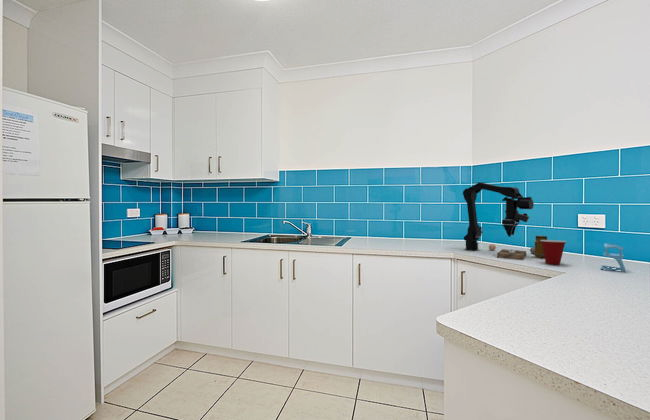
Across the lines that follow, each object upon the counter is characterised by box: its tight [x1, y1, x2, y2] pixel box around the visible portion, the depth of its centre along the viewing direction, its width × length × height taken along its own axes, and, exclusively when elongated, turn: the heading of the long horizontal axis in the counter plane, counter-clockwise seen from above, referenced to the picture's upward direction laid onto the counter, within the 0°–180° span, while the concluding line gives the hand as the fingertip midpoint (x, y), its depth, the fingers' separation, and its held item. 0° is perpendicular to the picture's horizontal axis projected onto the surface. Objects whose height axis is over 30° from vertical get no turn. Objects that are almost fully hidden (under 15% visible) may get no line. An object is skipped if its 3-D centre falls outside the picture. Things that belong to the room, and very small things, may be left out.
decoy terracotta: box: [488, 243, 497, 251], centre depth 193 cm, size 4×4×4 cm
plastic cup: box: [540, 239, 567, 266], centre depth 153 cm, size 11×11×12 cm
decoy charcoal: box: [529, 246, 535, 255], centre depth 179 cm, size 4×4×4 cm
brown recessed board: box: [496, 248, 527, 261], centre depth 173 cm, size 12×16×2 cm
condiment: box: [532, 235, 548, 260], centre depth 168 cm, size 7×8×12 cm
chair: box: [600, 242, 627, 272], centre depth 138 cm, size 8×8×12 cm
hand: (511, 235), depth 176 cm, fingers open, 9 cm apart
